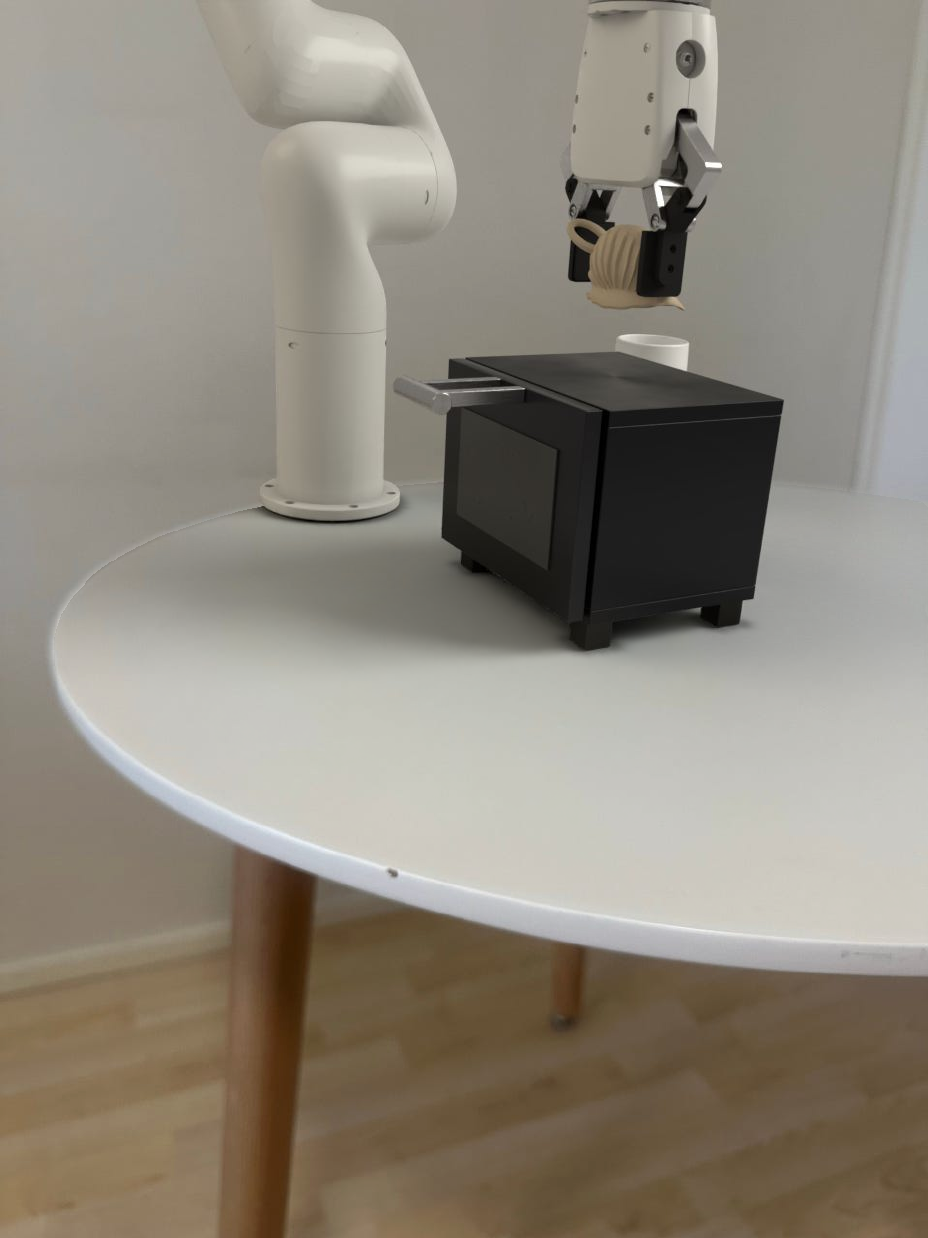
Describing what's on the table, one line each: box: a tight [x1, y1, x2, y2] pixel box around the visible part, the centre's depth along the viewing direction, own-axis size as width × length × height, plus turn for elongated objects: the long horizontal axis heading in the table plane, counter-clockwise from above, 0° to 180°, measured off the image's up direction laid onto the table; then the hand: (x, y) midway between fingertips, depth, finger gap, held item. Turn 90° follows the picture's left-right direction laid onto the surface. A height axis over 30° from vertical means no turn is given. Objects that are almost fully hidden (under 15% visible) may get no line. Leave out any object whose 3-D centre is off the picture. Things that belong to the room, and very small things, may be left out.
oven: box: [460, 351, 785, 651], centre depth 83 cm, size 14×19×16 cm
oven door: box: [392, 357, 603, 624], centre depth 78 cm, size 8×18×14 cm, turn 27°
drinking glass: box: [613, 333, 690, 372], centre depth 107 cm, size 7×7×15 cm
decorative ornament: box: [566, 219, 686, 311], centre depth 77 cm, size 4×8×5 cm, turn 43°
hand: (622, 286), depth 78 cm, fingers closed on decorative ornament, 7 cm apart
